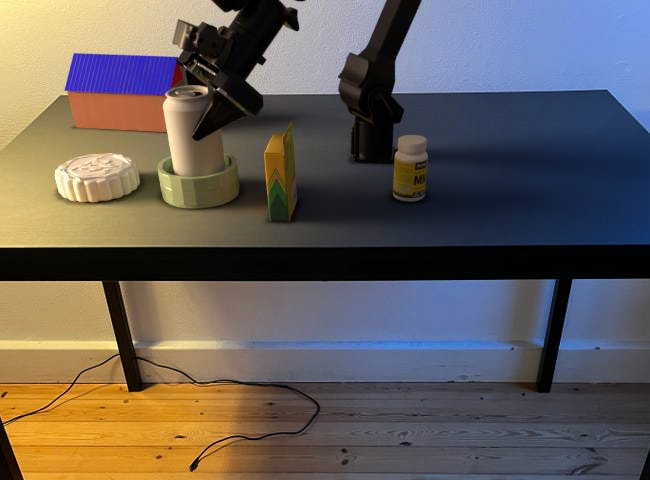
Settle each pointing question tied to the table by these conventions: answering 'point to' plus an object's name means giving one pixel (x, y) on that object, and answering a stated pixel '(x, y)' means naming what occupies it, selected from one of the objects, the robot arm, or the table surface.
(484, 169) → the table surface
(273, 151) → the crayon box
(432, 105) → the table surface
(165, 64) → the house
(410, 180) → the supplement bottle
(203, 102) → the can
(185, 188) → the pot
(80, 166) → the mooncake
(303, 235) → the table surface
